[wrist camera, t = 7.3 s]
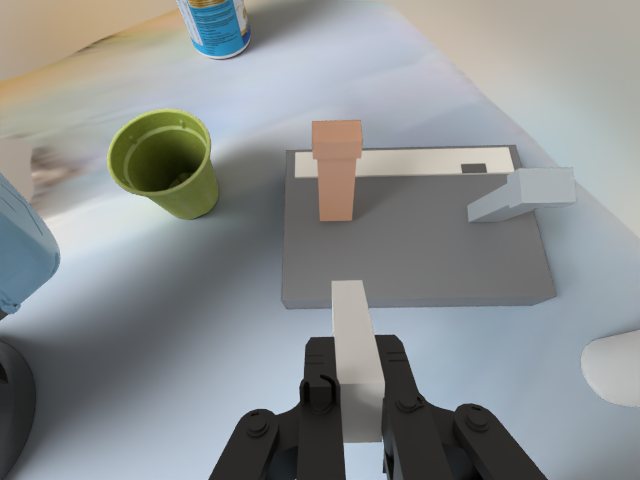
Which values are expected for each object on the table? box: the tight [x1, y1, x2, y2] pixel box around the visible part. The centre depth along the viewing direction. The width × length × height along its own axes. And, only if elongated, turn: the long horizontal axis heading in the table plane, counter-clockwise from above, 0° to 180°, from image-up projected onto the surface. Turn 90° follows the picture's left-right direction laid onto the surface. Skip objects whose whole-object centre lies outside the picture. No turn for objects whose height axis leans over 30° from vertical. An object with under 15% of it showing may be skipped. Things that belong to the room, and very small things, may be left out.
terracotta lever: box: [312, 120, 363, 221], centre depth 29 cm, size 4×2×10 cm, turn 91°
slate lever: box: [467, 167, 577, 222], centre depth 28 cm, size 4×2×10 cm, turn 91°
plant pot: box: [107, 109, 219, 219], centre depth 36 cm, size 9×9×9 cm
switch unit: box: [281, 145, 556, 309], centre depth 35 cm, size 24×16×4 cm, turn 91°
